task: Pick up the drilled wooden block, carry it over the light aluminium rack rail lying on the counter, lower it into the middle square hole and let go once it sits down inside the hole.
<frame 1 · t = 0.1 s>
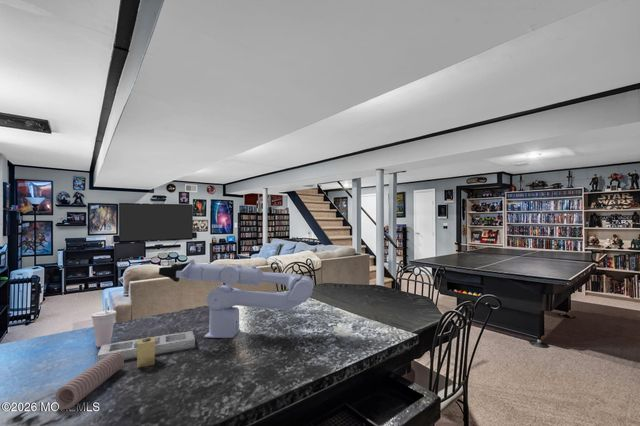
hand: (165, 269, 104), 22 cm above the bar counter, fingers open, 7 cm apart
drilled wooden block: (146, 363, 82), on the bar counter
smoothie: (103, 345, 94), on the bar counter
coil: (93, 388, 70), on the bar counter
rack rail: (149, 350, 90), on the bar counter
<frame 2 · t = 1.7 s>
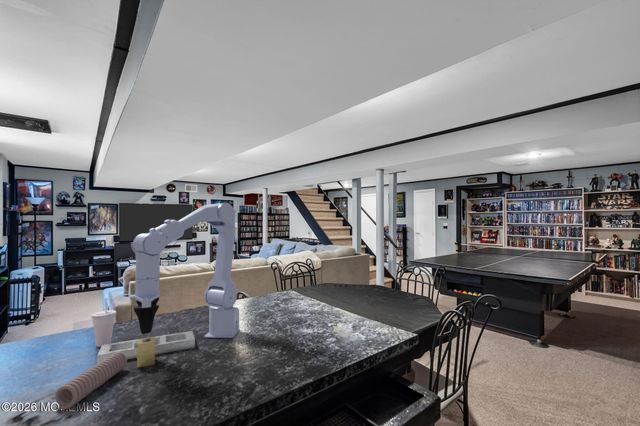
hand: (146, 328, 82), 9 cm above the bar counter, fingers open, 7 cm apart
nothing on the bar counter moved.
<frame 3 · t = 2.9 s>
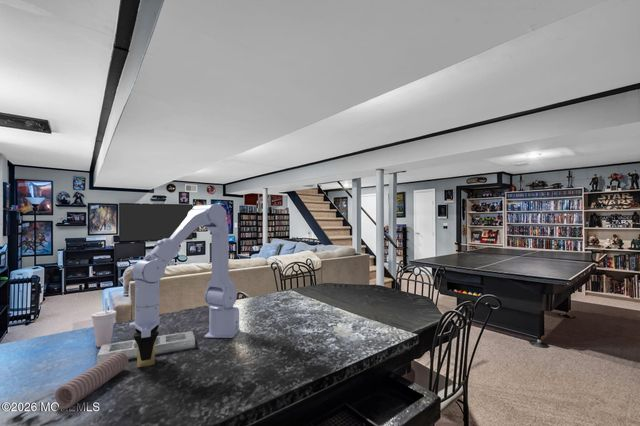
hand: (146, 356, 82), 2 cm above the bar counter, fingers closed on drilled wooden block, 4 cm apart
drilled wooden block: (146, 362, 82), on the bar counter, touching gripper
everything else where it was.
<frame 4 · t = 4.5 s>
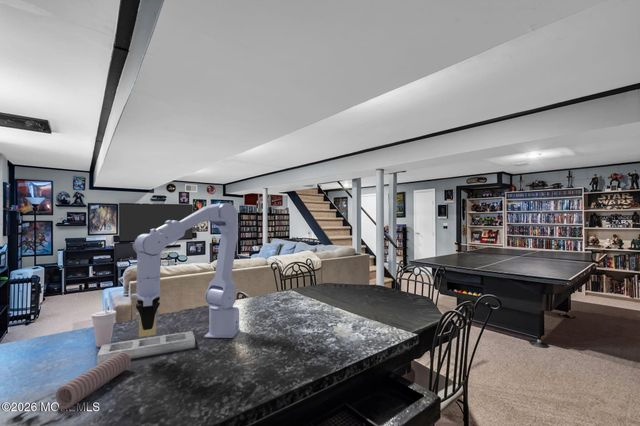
hand: (148, 326, 84), 9 cm above the bar counter, fingers closed on drilled wooden block, 4 cm apart
drilled wooden block: (147, 333, 84), point 7 cm above the bar counter, touching gripper
everything else where it was.
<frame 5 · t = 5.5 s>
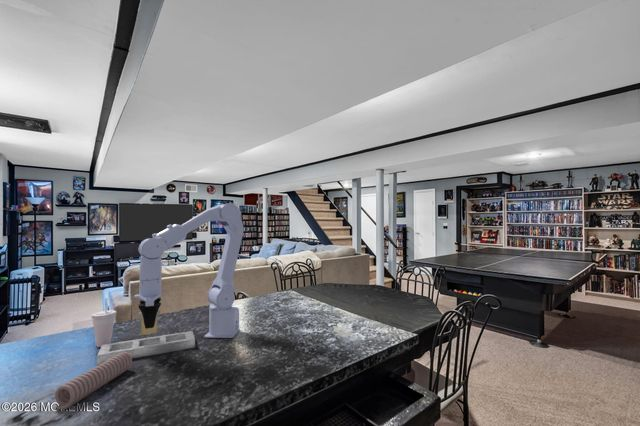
hand: (149, 325, 90), 7 cm above the bar counter, fingers closed on drilled wooden block, 4 cm apart
drilled wooden block: (149, 331, 90), point 5 cm above the bar counter, touching gripper
when the fingers open (3 cm above the bar counter, at t = 6.7 s): drilled wooden block drops 2 cm, resting in rack rail.
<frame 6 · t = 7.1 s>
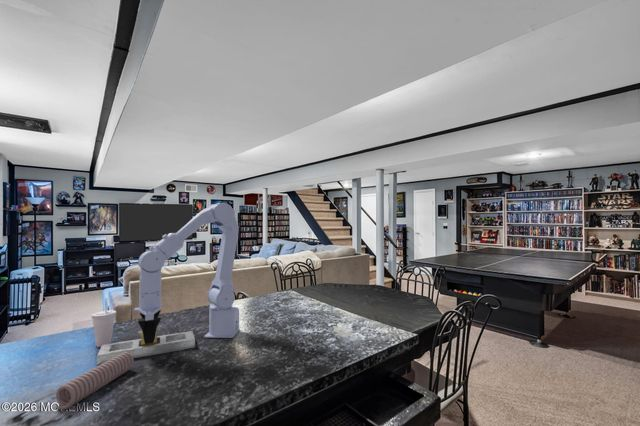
hand: (149, 338, 90), 3 cm above the bar counter, fingers open, 7 cm apart
drilled wooden block: (149, 350, 90), resting in rack rail
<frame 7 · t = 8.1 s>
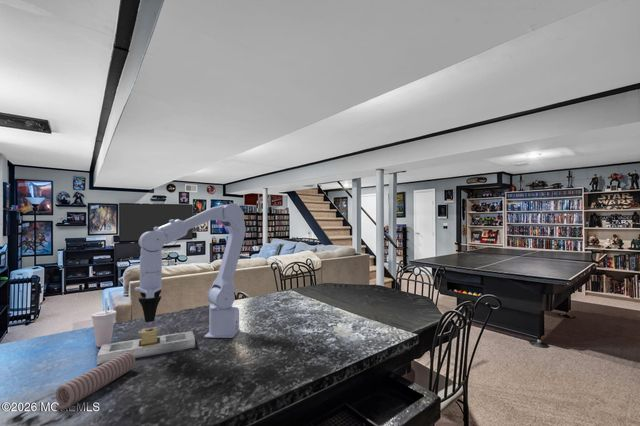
hand: (150, 318, 90), 9 cm above the bar counter, fingers open, 7 cm apart
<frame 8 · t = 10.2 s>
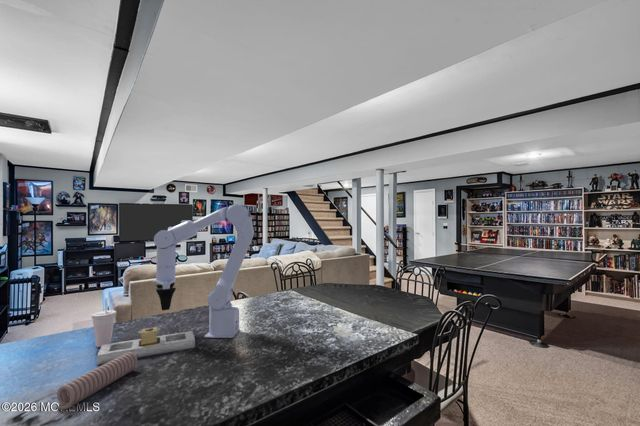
hand: (165, 307, 102), 9 cm above the bar counter, fingers open, 7 cm apart
at the end: drilled wooden block 0.1 cm off-centre on the rack rail, point 0.0 cm above the rack rail's base; drilled wooden block tilted 0°; the gripper is holding nothing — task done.
